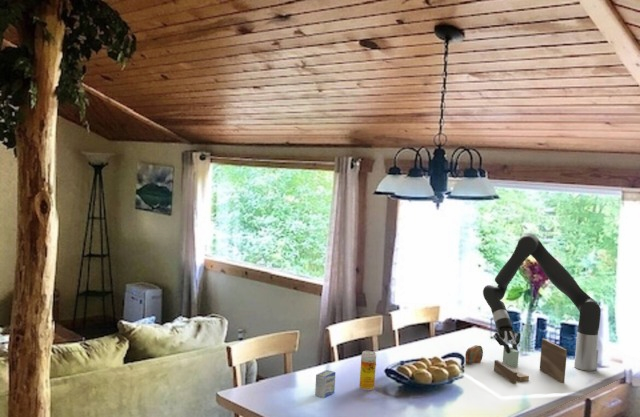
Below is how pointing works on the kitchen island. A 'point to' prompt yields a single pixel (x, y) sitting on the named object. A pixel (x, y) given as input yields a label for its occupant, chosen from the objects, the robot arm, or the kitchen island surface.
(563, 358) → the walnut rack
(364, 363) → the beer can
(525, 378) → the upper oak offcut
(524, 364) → the kitchen island surface
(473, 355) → the brown rounded slab
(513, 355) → the pale green block
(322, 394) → the medicine box
